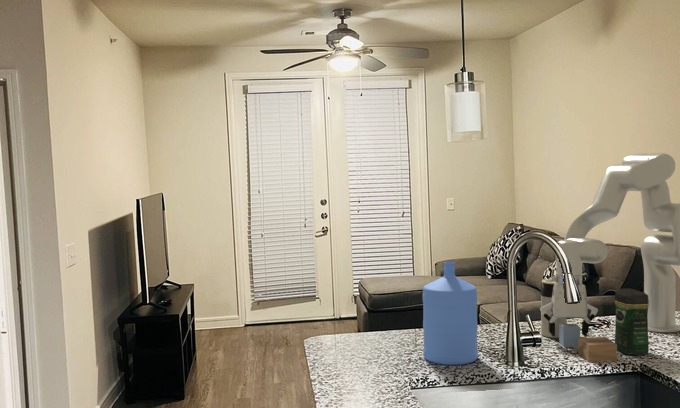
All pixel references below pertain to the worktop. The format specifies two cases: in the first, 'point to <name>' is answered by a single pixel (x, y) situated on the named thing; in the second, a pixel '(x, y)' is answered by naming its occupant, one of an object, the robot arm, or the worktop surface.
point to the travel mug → (546, 299)
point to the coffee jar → (631, 321)
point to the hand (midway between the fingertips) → (568, 335)
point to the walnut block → (597, 349)
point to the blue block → (569, 335)
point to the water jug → (450, 320)
